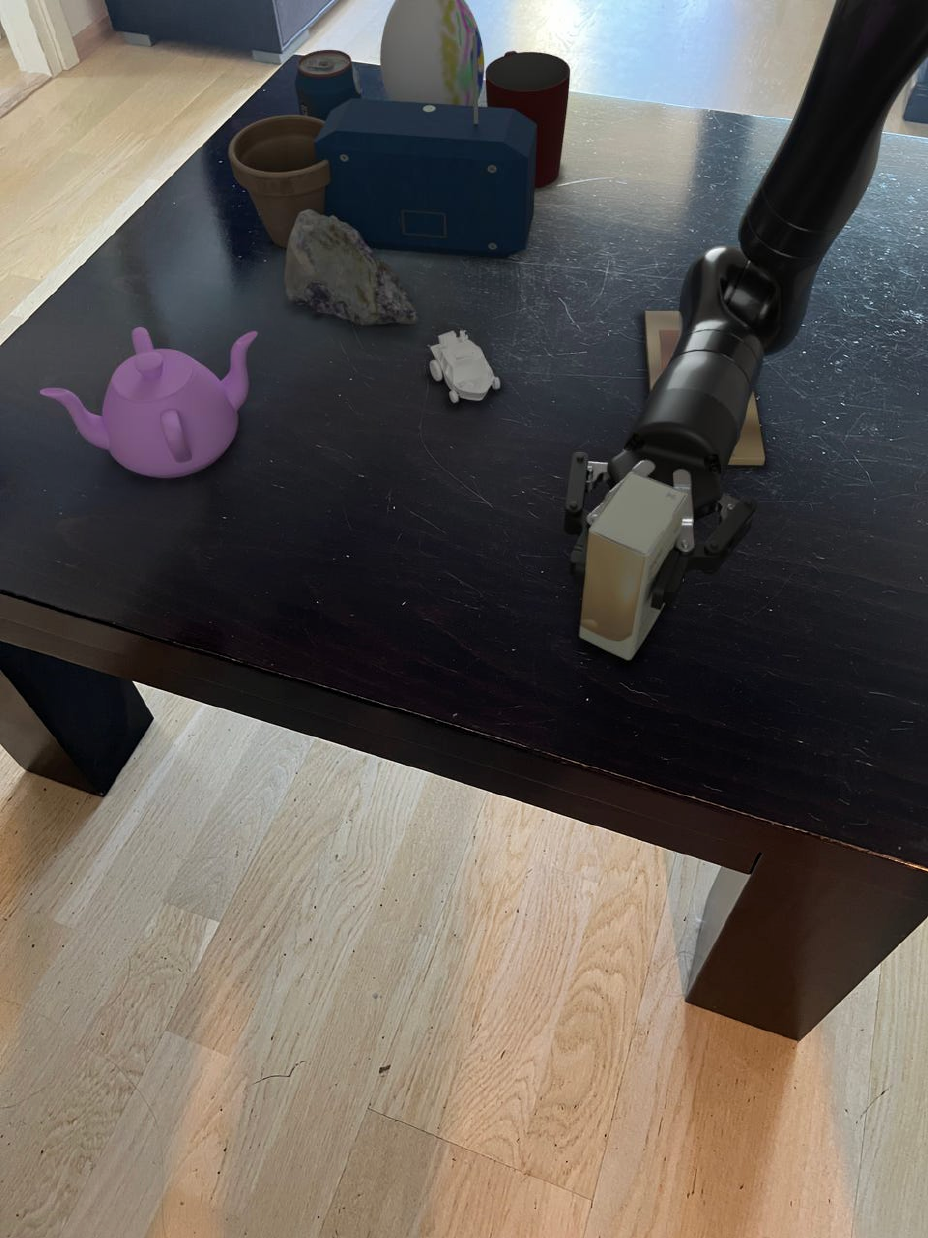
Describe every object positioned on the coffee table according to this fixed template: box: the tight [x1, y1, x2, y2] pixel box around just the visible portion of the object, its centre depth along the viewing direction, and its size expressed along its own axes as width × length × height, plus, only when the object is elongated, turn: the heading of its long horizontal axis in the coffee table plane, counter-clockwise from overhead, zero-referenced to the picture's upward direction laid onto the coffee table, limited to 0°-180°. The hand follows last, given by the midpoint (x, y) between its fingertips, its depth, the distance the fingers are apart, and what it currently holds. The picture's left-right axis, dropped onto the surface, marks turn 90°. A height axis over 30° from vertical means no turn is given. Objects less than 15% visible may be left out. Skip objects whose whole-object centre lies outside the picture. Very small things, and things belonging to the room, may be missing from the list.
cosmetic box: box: [578, 472, 688, 661], centre depth 67 cm, size 6×4×12 cm
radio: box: [314, 36, 537, 260], centre depth 95 cm, size 21×9×20 cm, turn 80°
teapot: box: [39, 326, 258, 479], centre depth 83 cm, size 12×14×9 cm
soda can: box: [294, 49, 363, 121], centre depth 107 cm, size 7×7×12 cm
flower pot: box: [227, 114, 331, 249], centre depth 101 cm, size 12×11×10 cm
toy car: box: [429, 329, 501, 404], centre depth 87 cm, size 5×8×4 cm, turn 26°
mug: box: [484, 50, 571, 190], centre depth 107 cm, size 12×9×11 cm
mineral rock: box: [283, 209, 419, 327], centre depth 92 cm, size 13×11×10 cm
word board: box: [643, 310, 766, 466], centre depth 87 cm, size 20×9×1 cm, turn 176°
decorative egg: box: [379, 0, 485, 106], centre depth 113 cm, size 12×12×15 cm
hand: (618, 588), depth 65 cm, fingers closed on cosmetic box, 4 cm apart
